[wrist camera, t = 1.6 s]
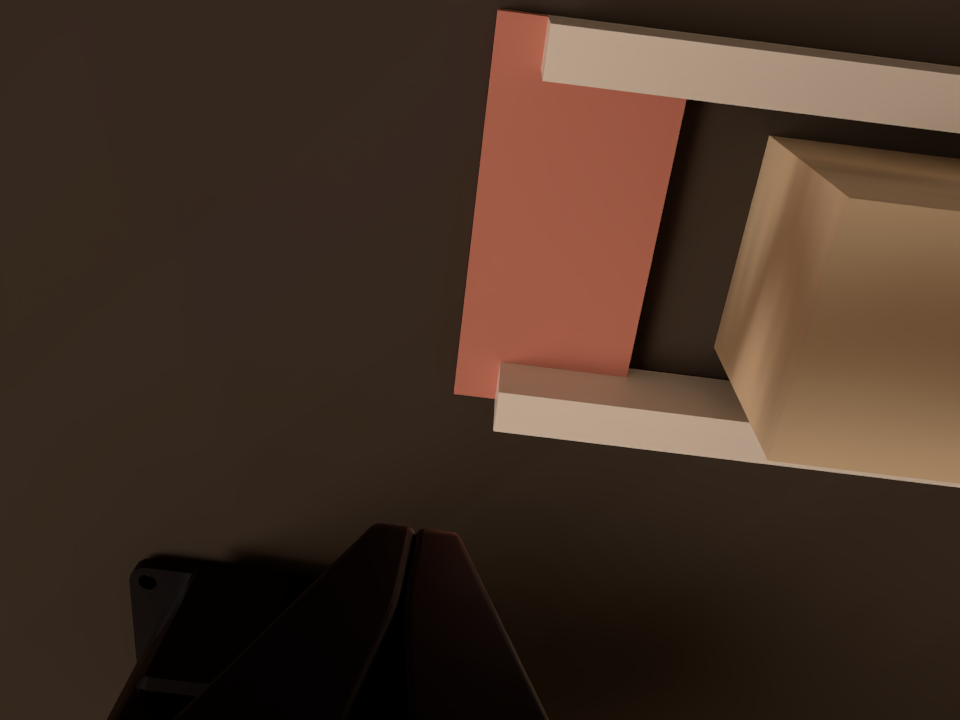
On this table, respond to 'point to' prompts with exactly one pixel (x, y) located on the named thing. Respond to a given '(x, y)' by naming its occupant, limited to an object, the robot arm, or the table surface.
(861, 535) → the table surface
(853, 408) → the pine block
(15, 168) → the table surface
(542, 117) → the channel
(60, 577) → the table surface
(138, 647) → the robot arm
